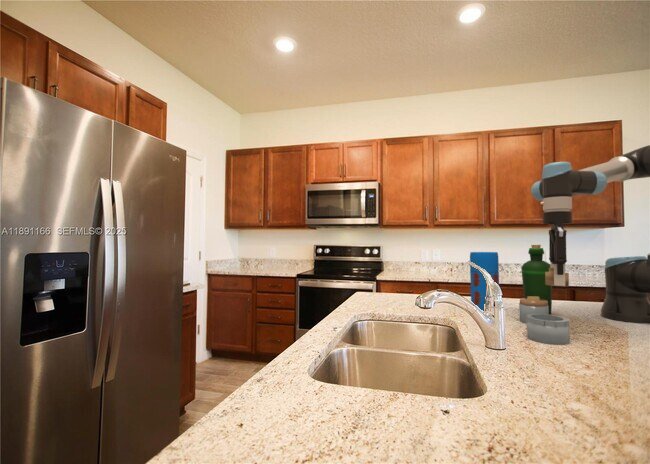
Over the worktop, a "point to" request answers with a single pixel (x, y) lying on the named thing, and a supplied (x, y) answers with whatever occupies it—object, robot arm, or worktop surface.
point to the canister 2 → (548, 329)
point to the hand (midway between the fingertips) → (557, 284)
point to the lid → (550, 278)
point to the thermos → (477, 279)
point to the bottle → (536, 276)
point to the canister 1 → (532, 307)
